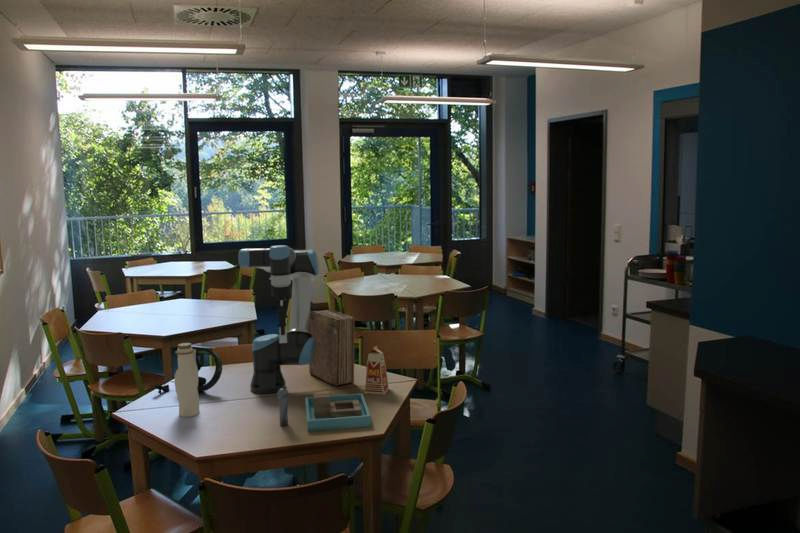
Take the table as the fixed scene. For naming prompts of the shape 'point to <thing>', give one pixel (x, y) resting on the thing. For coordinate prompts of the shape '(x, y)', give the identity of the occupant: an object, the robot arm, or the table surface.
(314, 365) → the book
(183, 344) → the water bottle
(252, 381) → the robot arm
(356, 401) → the tan blocky piece
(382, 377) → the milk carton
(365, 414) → the tray
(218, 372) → the headset
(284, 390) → the dark grey rod
